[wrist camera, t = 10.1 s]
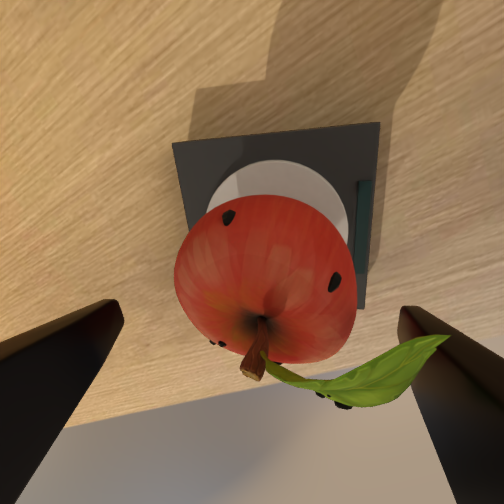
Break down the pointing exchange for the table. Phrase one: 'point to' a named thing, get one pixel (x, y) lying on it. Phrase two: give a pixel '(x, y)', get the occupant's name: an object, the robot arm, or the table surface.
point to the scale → (290, 177)
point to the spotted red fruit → (285, 297)
